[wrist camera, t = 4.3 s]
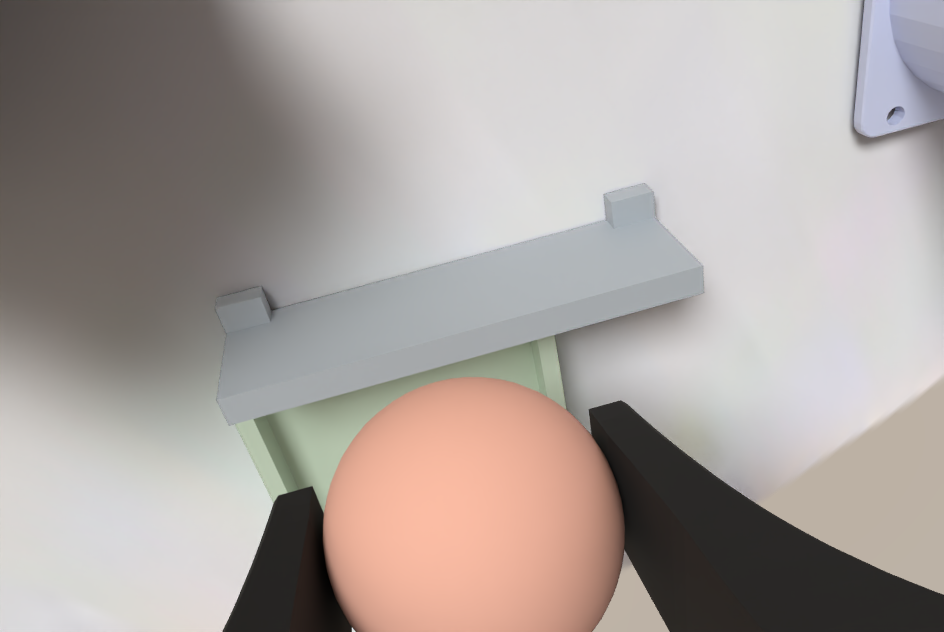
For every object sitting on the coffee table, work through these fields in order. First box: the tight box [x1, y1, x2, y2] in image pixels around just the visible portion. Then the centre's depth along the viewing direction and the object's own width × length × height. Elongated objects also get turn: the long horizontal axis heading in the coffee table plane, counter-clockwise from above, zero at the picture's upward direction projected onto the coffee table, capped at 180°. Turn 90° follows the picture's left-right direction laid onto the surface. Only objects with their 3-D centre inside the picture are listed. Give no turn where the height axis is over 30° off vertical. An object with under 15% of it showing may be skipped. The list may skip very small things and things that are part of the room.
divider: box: [215, 183, 704, 426], centre depth 19 cm, size 12×2×4 cm, turn 101°
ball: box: [323, 377, 625, 632], centre depth 13 cm, size 5×5×5 cm
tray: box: [235, 335, 567, 512], centre depth 23 cm, size 9×9×2 cm
